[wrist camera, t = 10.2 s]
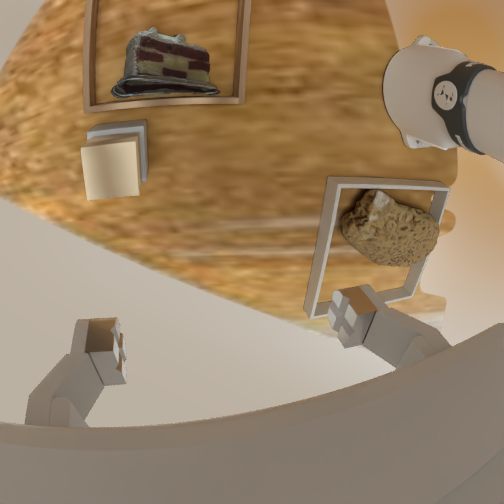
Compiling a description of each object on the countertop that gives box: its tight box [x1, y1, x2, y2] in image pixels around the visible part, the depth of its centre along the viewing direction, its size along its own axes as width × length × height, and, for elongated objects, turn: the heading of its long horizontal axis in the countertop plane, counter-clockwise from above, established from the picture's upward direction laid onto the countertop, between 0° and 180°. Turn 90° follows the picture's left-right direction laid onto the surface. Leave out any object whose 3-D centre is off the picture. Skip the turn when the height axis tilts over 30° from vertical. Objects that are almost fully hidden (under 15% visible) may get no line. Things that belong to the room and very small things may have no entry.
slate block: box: [87, 119, 148, 182], centre depth 31 cm, size 6×6×5 cm
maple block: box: [81, 131, 142, 201], centre depth 27 cm, size 5×5×5 cm
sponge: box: [341, 188, 439, 267], centre depth 48 cm, size 13×8×20 cm
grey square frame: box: [303, 176, 450, 319], centre depth 51 cm, size 24×24×3 cm
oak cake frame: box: [83, 0, 251, 114], centre depth 26 cm, size 17×17×3 cm
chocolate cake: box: [111, 27, 220, 98], centre depth 28 cm, size 10×7×12 cm
